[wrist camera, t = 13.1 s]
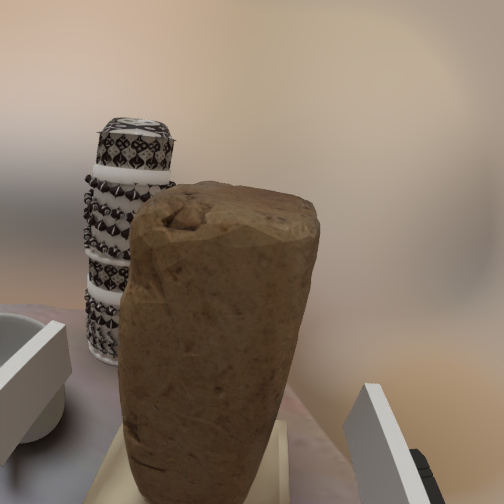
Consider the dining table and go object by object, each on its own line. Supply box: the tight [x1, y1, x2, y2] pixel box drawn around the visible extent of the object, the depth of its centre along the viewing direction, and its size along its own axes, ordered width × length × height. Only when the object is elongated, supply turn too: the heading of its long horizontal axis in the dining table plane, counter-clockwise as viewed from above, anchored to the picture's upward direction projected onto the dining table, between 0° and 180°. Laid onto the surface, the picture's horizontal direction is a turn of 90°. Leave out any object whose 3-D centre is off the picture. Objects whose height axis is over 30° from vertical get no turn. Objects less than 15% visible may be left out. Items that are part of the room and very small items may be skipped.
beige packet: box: [83, 420, 290, 504], centre depth 19 cm, size 14×14×1 cm
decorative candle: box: [83, 118, 176, 366], centre depth 30 cm, size 9×9×25 cm
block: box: [118, 181, 320, 504], centre depth 16 cm, size 11×8×20 cm
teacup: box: [0, 313, 65, 444], centre depth 16 cm, size 14×11×8 cm
